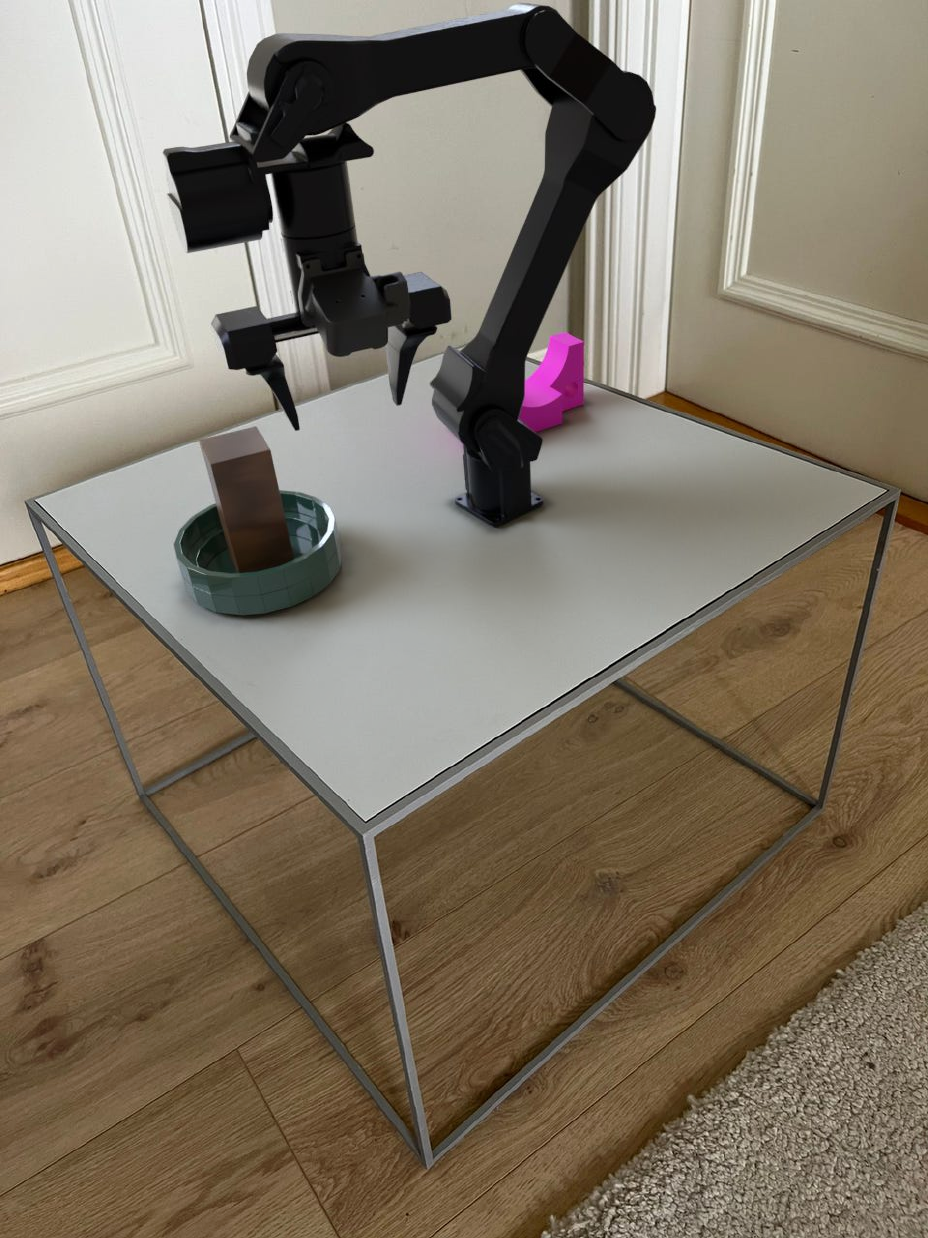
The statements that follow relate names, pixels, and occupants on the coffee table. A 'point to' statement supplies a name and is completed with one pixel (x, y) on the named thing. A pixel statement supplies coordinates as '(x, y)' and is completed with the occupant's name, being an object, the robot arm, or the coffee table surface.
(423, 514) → the coffee table surface
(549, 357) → the toy block
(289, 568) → the teal shallow bowl
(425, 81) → the robot arm
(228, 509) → the walnut block
